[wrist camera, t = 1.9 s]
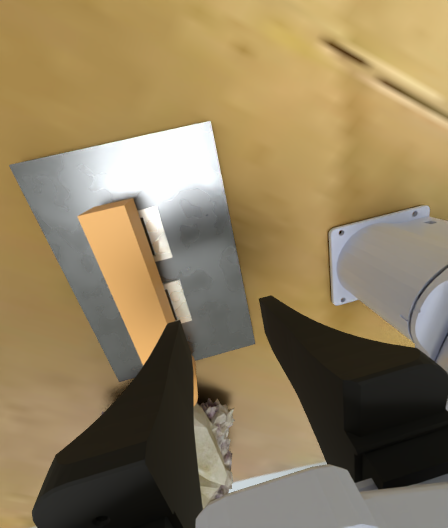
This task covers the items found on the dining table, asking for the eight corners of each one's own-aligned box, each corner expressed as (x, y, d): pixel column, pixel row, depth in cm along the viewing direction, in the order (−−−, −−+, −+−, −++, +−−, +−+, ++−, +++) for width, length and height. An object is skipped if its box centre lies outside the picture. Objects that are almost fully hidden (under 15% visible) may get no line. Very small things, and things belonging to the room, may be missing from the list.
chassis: (208, 123, 18) (211, 119, 16) (251, 334, 26) (257, 348, 24) (22, 164, 18) (1, 165, 16) (122, 369, 25) (117, 388, 23)
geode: (178, 331, 31) (82, 420, 30) (163, 359, 21) (23, 489, 21) (274, 434, 31) (181, 524, 30) (301, 507, 22) (167, 639, 21)
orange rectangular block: (199, 374, 24) (202, 408, 20) (160, 385, 23) (157, 421, 20) (140, 196, 17) (131, 204, 14) (86, 208, 17) (64, 220, 14)
